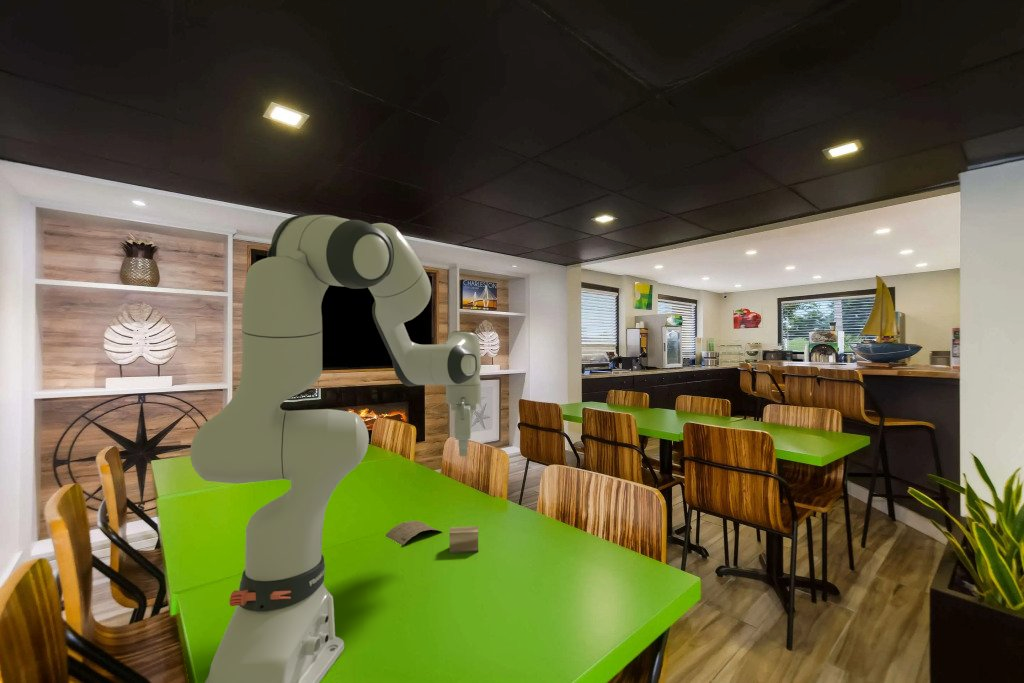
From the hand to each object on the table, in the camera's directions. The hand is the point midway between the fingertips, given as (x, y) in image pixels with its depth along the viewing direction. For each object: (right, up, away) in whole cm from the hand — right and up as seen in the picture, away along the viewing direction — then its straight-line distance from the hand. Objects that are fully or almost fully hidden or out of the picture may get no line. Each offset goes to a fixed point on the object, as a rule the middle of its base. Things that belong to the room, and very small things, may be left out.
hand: (463, 451), depth 110 cm
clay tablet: (-15, -25, +9) cm, 31 cm away
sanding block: (0, -24, -1) cm, 24 cm away
